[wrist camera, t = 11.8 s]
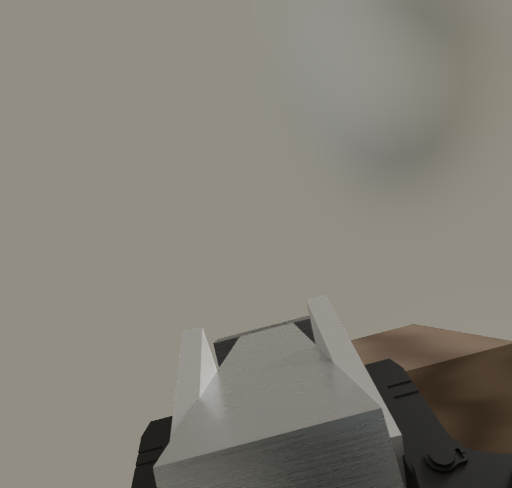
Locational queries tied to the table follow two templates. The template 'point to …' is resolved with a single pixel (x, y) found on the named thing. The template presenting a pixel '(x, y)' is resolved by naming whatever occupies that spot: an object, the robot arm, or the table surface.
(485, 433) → the walnut step stand
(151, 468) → the robot arm
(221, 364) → the steel bar
